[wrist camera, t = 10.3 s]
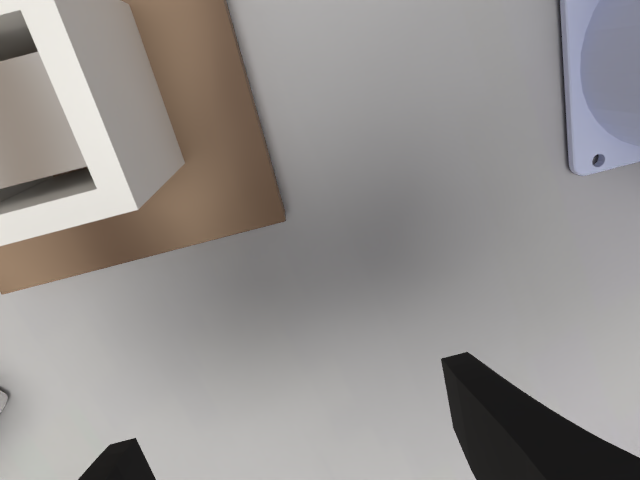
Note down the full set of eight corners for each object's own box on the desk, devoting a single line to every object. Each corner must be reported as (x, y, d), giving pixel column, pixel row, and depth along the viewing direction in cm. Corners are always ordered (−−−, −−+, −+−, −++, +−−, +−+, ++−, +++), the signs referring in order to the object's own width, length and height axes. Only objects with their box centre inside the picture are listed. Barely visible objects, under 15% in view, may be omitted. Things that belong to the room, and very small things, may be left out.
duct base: (194, -110, 15) (150, -211, 10) (285, 212, 19) (288, 267, 13) (-140, -23, 15) (-372, -76, 10) (18, 281, 19) (-85, 364, 13)
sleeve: (128, 4, 15) (38, -38, 9) (184, 163, 17) (138, 209, 11) (-31, 46, 15) (-220, 29, 9) (42, 200, 17) (-78, 266, 11)
